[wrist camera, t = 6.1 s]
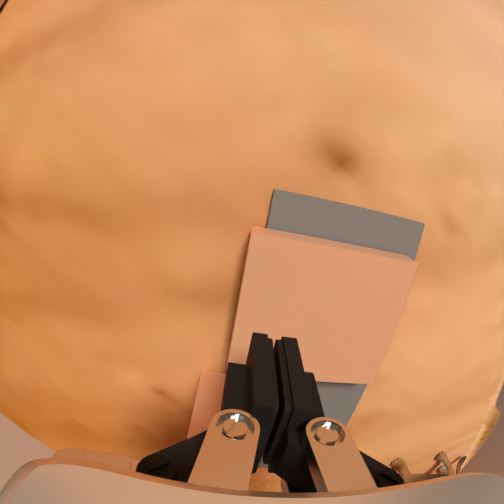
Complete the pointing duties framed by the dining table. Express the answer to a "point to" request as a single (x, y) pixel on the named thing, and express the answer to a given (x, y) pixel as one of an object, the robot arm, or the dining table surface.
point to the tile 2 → (321, 302)
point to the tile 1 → (206, 401)
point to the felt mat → (347, 231)
